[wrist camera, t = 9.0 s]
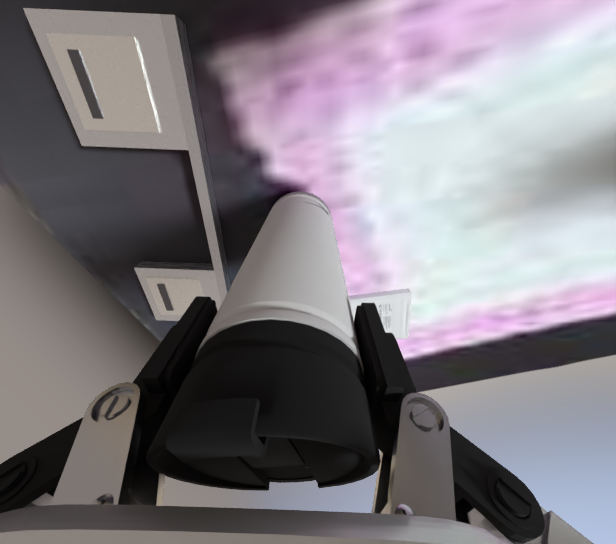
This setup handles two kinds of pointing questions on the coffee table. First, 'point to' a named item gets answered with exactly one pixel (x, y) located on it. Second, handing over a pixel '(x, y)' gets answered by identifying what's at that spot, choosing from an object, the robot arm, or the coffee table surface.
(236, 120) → the coffee table surface
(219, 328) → the travel mug
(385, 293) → the external hard drive
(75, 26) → the panel
